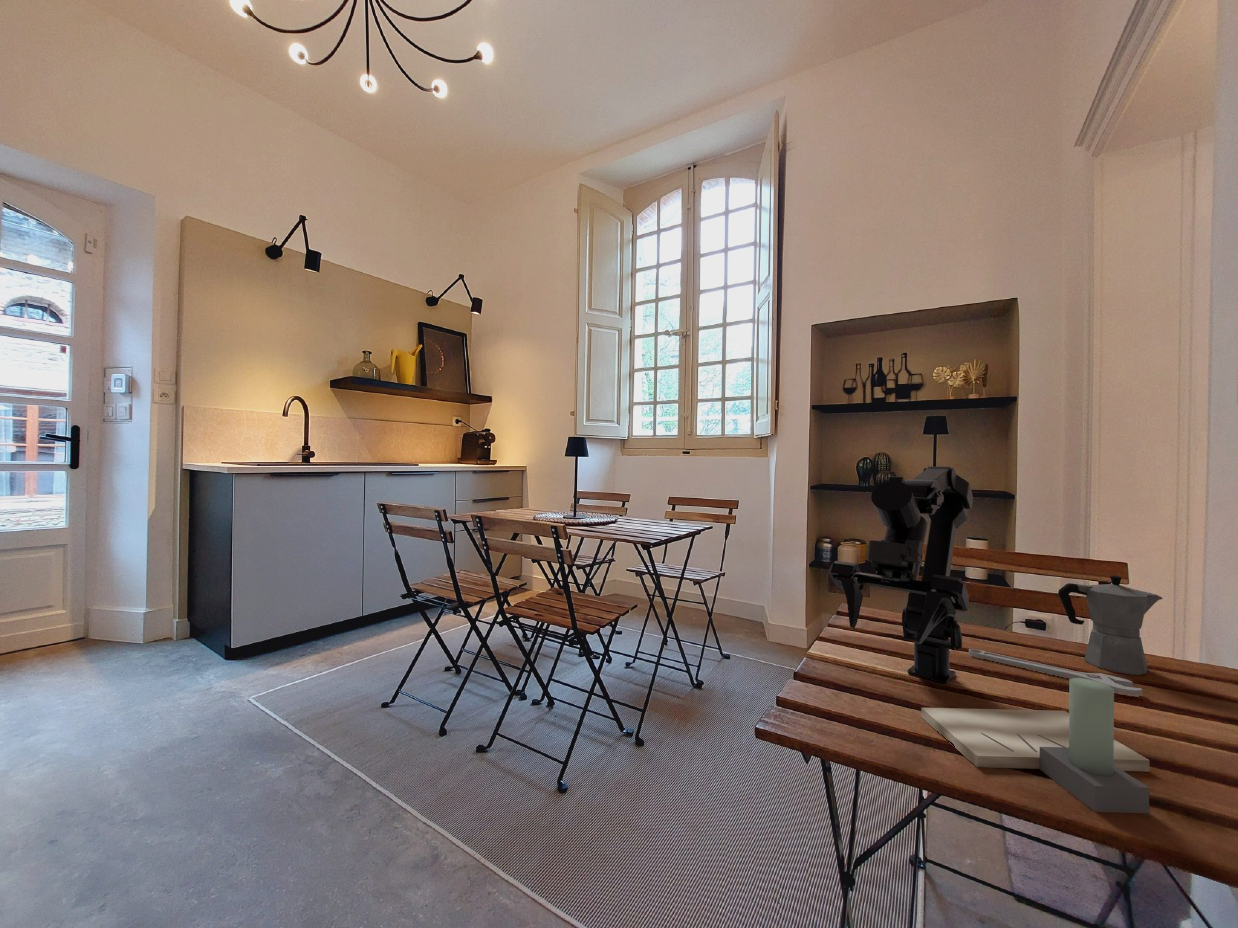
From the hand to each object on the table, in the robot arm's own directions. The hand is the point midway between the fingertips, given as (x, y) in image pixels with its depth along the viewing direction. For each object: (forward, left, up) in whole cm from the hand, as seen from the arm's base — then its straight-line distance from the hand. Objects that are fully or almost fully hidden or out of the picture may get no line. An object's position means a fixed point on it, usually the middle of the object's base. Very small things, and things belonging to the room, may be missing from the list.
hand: (883, 634), depth 75 cm
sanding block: (-5, +22, -15) cm, 27 cm away
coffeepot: (-60, +20, -15) cm, 65 cm away
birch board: (-12, +15, -14) cm, 24 cm away
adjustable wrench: (-47, +13, -15) cm, 51 cm away
